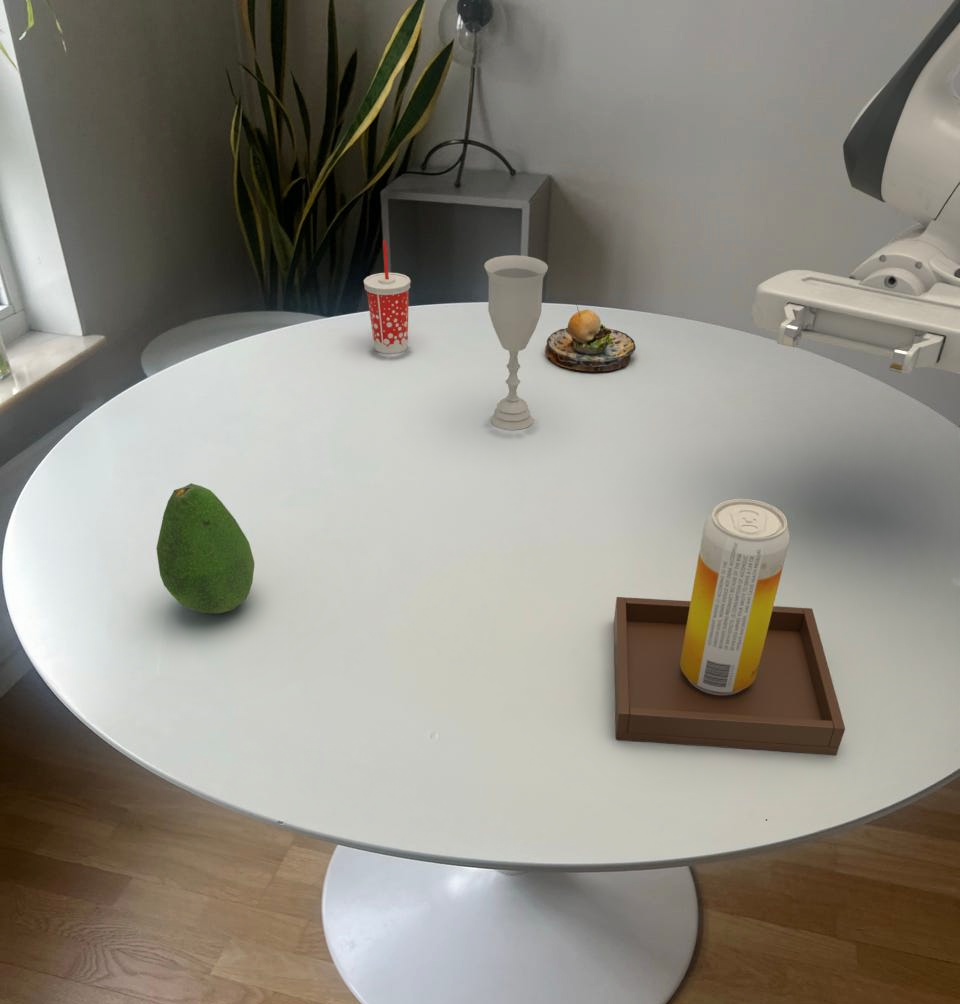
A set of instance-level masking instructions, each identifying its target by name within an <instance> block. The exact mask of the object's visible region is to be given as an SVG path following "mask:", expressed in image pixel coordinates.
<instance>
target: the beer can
mask: <svg viewBox="0 0 960 1004" xmlns="http://www.w3.org/2000/svg"><path fill="white" fill-rule="evenodd" d="M702 529H703V530H702V535H701V541H700V547H699V553H698V557H697V564H696V569H695V576H694V580H693V586H692V592H691V598H690V601H691V603H690V609H689V615H688V620H687V626H686V632H685V637H684V643H683V649H682V655H681V660H680V666H681V669H682V671H683V673H684V675H685V676H686V677H687V678H688V680H689V681H690V683H691V684H692V685H693V686H695V687H696V688H698V689H699V690H701V691H703V692H706V693H709V694H713V695H732V694H735V693H738V692H740V691H741V690H743V689H745V688H747V687H748V686H750V685H751V684H752V683H753V682H754V680H755V678H756V675H757V671H758V667H759V663H760V659H761V655H762V651H763V646H764V642H765V638H766V634H767V630H768V626H769V622H770V618H771V614H772V610H773V606H775V601H776V597H777V593H778V589H779V586H780V585H779V584H780V580H781V576H782V572H783V568H784V564H785V561H786V556H787V552H788V548H789V543H790V539H791V534H790V531H789V528H788V521H787V517H786V516H785V514H784V513H783V512H782V511H781V510H780V509H779V508H777V507H775V506H773V505H772V504H769V503H767V502H763V501H761V500H756V499H750V498H735V499H734V498H733V499H729V500H725V501H722V502H720V503H718V504H717V505H715V507H713V509H712V511H711V514H710V515H709V516H708V518H707V519H706V520H705V522H704V525H703V528H702Z"/></svg>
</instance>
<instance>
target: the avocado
mask: <svg viewBox="0 0 960 1004" xmlns="http://www.w3.org/2000/svg"><path fill="white" fill-rule="evenodd" d="M165 506H166V507H165V510H164V512H163V516H162V520H161V525H160V529H159V533H158V538H157V544H156V554H157V556H156V557H157V562H158V563H157V564H158V571H159V576H160V578H161V582H162V584H163V586H164V588H165V589H166V590H167V591H168V593H169V594H170V595H171V596H172V597H173V598H174V599H175V600H176V601H177V602H178V603H179V604H180V605H181V606H183V607H185V608H187V609H189V610H191V611H195V612H199V613H202V614H211V615H212V614H215V615H216V614H223V613H227V612H231V611H234V610H235V609H236V608H237V607H238V606H239V605H240V604H242V603H243V602H244V601H245V600H247V598H248V596H249V594H250V592H251V589H252V585H253V581H254V572H255V559H254V555H253V552H252V548H251V544H250V541H249V540H248V538H247V537H246V534H245V533H244V531H243V530H242V528H241V526H240V525H239V523H238V521H237V520H236V518H235V517H234V515H232V513H231V512H230V510H229V509H228V508H227V507H226V506H225V504H224V503H223V502H222V500H221V499H219V497H217V495H216V494H215V493H214V492H213V491H212V490H211V489H208V488H207V487H204V486H202V485H199V484H195V483H192V482H191V483H189V484H187V485H185V486H182V487H179V488H177V489H174V490H173V491H172V494H171V495H170V497H169V499H168V500H167V503H166V505H165Z"/></svg>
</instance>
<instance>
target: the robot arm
mask: <svg viewBox="0 0 960 1004" xmlns="http://www.w3.org/2000/svg"><path fill="white" fill-rule="evenodd" d="M959 72H960V0H953V1H952V2H951V4H950V5H949V6H948V8H947V9H946V10H945V11H944V13H943V14H942V15H941V17H939V19H938V21H936V23H935V24H934V25H933V27H931V29H930V30H929V32H928V33H927V34H926V35H925V37H924V38H923V39H922V41H921V42H920V43H919V44H918V46H917V47H916V48H915V49H914V51H912V53H911V55H910V56H909V57H908V58H907V59H906V60H905V62H904V63H903V64H902V66H901V67H900V68H899V69H898V70H897V71H896V73H894V75H893V76H892V77H891V78H890V80H888V81H887V82H886V83H885V84H884V85H883V86H882V87H881V88H880V89H879V90H878V91H877V92H876V93H875V94H874V95H873V96H872V97H871V98H870V100H868V102H867V103H866V104H865V105H864V106H863V107H862V109H861V110H860V111H859V113H858V114H857V116H856V117H855V119H854V120H853V123H852V124H851V126H850V128H849V131H848V133H847V135H846V138H845V139H844V142H843V145H842V151H843V152H842V153H843V160H844V165H845V170H846V174H847V177H848V180H849V183H850V186H851V187H852V188H853V189H855V190H858V191H859V192H861V193H863V194H865V195H868V196H869V197H872V198H874V199H875V200H878V201H880V202H882V203H887V204H888V205H890V206H892V207H894V208H895V209H896V210H899V211H900V212H901V213H903V214H905V215H906V216H908V217H909V218H911V219H913V220H914V221H916V223H914V224H912V225H911V226H908V227H907V228H906V229H904V230H902V231H901V232H899V233H898V234H897V235H895V236H893V238H891V239H890V240H888V242H887V243H886V244H885V245H884V246H883V247H881V248H879V249H878V250H877V251H875V252H874V253H873V254H871V256H869V257H868V258H867V259H865V261H863V262H862V263H860V265H858V266H857V267H856V268H855V269H854V270H853V271H852V272H851V274H850V275H849V276H848V277H846V276H840V275H835V274H829V273H825V272H820V271H814V270H809V269H807V270H806V269H790V270H785V271H784V272H781V273H778V274H777V275H774V276H772V277H769V278H768V279H766V280H764V281H763V282H761V283H759V285H758V286H756V289H755V291H754V296H753V301H752V306H751V314H750V320H751V322H752V323H753V325H754V326H755V327H756V328H758V329H762V330H768V331H771V332H775V333H777V337H776V338H777V339H776V344H777V345H781V346H787V347H791V348H796V346H798V345H799V344H800V343H801V340H802V339H807V340H810V341H814V342H815V341H816V342H819V343H824V344H827V345H833V346H837V347H841V348H846V349H850V350H854V351H858V352H863V353H868V354H872V355H876V356H879V357H884V358H889V359H891V360H892V361H891V362H890V364H889V368H888V370H889V371H892V372H895V373H899V374H903V375H904V374H905V375H909V374H910V373H911V372H912V371H913V370H917V369H924V368H932V369H936V370H941V371H946V372H949V373H954V374H958V375H960V95H959V94H958V93H957V91H956V90H955V88H954V87H955V86H954V81H955V78H956V76H957V75H958V74H959Z"/></svg>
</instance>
